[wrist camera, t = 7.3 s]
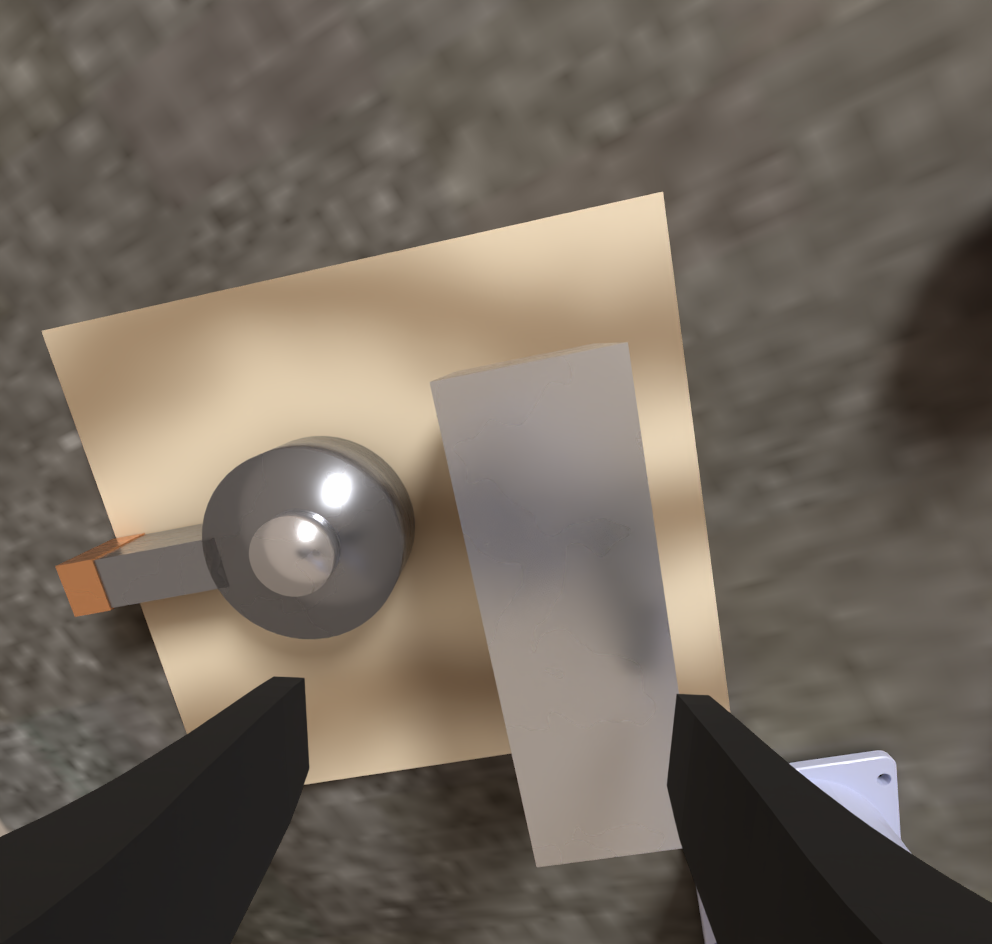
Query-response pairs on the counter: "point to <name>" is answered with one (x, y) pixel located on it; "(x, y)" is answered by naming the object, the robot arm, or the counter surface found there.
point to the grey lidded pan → (271, 544)
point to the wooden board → (385, 458)
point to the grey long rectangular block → (568, 593)
